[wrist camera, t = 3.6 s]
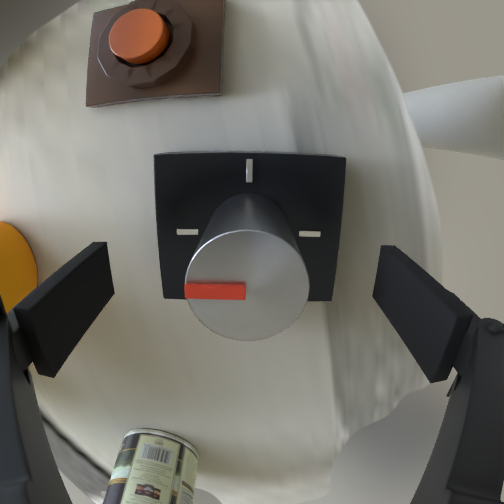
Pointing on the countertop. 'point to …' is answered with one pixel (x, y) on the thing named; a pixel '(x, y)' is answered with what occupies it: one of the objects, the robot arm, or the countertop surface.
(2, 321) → the robot arm
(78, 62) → the countertop surface
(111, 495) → the coffee can
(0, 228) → the beer bottle
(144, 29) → the button
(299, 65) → the countertop surface
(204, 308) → the dial
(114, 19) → the button block
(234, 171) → the control panel
